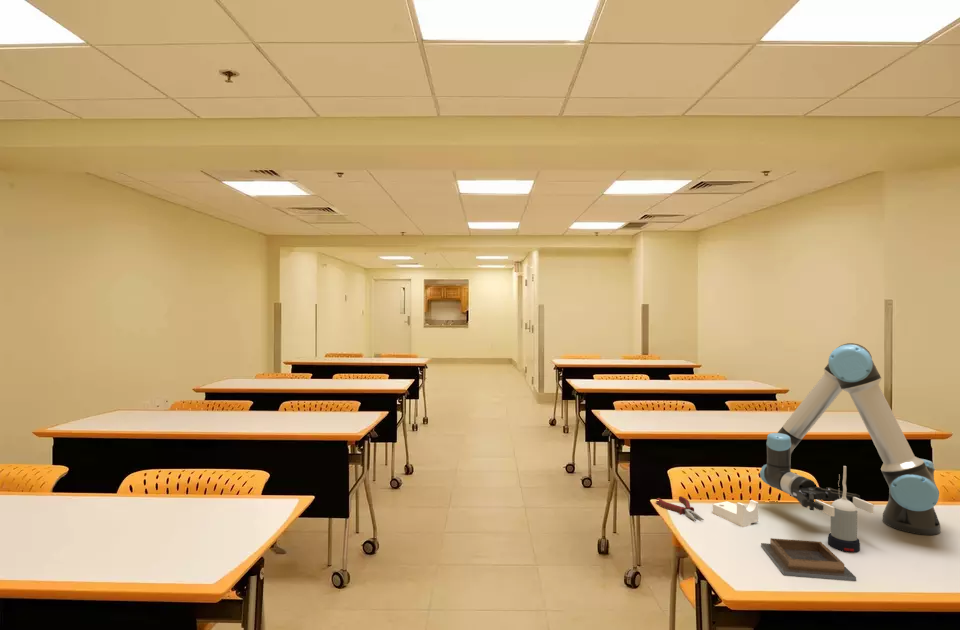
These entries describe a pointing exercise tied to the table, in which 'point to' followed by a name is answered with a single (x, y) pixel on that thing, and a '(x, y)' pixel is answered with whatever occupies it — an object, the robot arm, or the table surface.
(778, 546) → the fitting nest
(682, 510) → the pliers
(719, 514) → the bracket
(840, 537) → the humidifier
